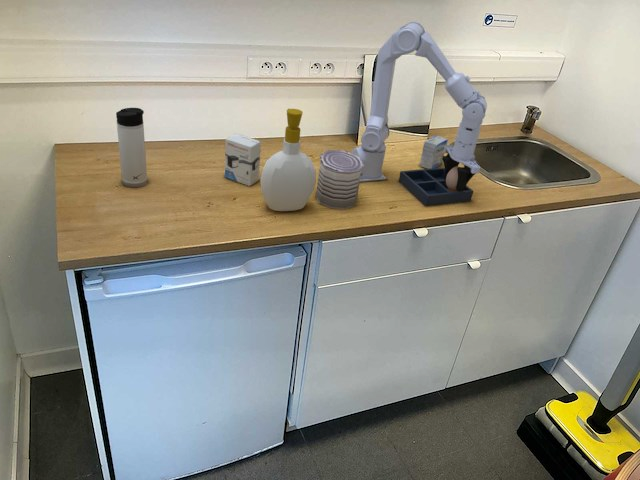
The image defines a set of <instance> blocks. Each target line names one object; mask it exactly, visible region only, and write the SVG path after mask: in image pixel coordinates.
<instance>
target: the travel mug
mask: <svg viewBox="0 0 640 480" xmlns="http://www.w3.org/2000/svg"><path fill="white" fill-rule="evenodd" d="M144 113H145V112H144V110H143V109H142V108H139V107H126V108H122V109H120V110H118V111H116V113H115V114H116V116H115V117H116V129H117V130H116V131H117V139H118V151H119V161H120V173H121V182H122V184H123V185H124V186H125V187H128V188H141V187H143V186H145V185H147V183H148V174H147V173H148V172H147V171H148V170H147V156H146V144H145V143H146V142H145V140H146V139H145V127H144V116H143V115H144Z"/></svg>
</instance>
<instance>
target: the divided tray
mask: <svg viewBox="0 0 640 480" xmlns="http://www.w3.org/2000/svg"><path fill="white" fill-rule="evenodd" d="M398 182H399V183H400V184H401V186H403V187H404V188H405V189H406V190H407V191H408V192H410V194H411V195H413V196H414V198H415V199H417V200H418V201H419V202H420V203H421V204H422V205H423V206H424V207H432V206H443V205H448V204H449V205H450V204H458V203H467V202H471V201H472V198H473V195H474V192H475V191H474V190H473V189H472V188H471V187H470V186H468V184H467V185H466V186H465V188H464V190H461V191H451V190H450V189H449V188H448V187H447V185H446V181H445V168H444V167H436V168H433V169H426V168H422V169H411V170H410V169H409V170H400V171H399V176H398Z"/></svg>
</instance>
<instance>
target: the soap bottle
mask: <svg viewBox="0 0 640 480" xmlns="http://www.w3.org/2000/svg"><path fill="white" fill-rule="evenodd" d="M302 116H303V111H302V110H301V109H298V108H287V109H286V117H287V118H286V119H287V126H285V130H284V131H285V133H284V138H283V141H282V142H283V143H282V150H280V151H278V152H275V153H274V154H272V155H271V156H270V157H269V158H268V159H267V161H266V162H265V164H264V166H263V167H262V170H261V176H260V179H259V181H260V192H261V195H262V197H263V200H264V202H265V203H266V205H267V207H268V208H269V209H270V210H272V211H276V212H292V211H293V212H295V211H299V210H302V209H303V208H305V206H306V205H307V203H308V202H309V200H310V199H311V196H312V195H313V193H314V190H315V187H316V183H317V171H316V168H315V165H314V162H313V160H312V159H311V158H309V156H307V154H306V153H304V152H301V150H300V149H301V142H302V141H301V139H300V138H301V128H300V124H301V120H302Z"/></svg>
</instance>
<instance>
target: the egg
mask: <svg viewBox="0 0 640 480" xmlns="http://www.w3.org/2000/svg"><path fill="white" fill-rule="evenodd" d="M459 167H460V166H459V165H458V166H457V167H454V168H452V169H451V170H450V171H449V172H448V174H447V177H446V185H447V187H448V188H449V189H450V190H451V191H457V190H456V186H457V181H458V170H457V168H459Z"/></svg>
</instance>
